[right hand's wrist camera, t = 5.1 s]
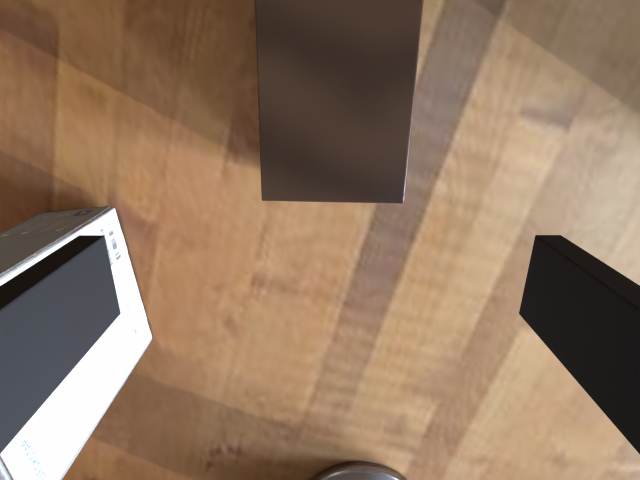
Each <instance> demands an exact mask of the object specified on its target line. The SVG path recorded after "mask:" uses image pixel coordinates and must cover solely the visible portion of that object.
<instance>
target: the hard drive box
mask: <svg viewBox="0 0 640 480" xmlns="http://www.w3.org/2000/svg"><path fill="white" fill-rule="evenodd" d="M79 235H104V236H105V240H106V245H107V250H108V255H109V259H110V264H111V269H112V274H113V278H114V283H115V288H116V293H117V297H118V302H119V307H120V312H121V314H120V315H119V316H118V317H117V319H116V320H115V321H114V322H113V323H112V324H111V326H110V327H109V328H108V329H107V330H106V331H105V333H104V334H103V335H102V336H101V337H100V338H99V340H98V341H97V342H96V343H95V344H94V345H93V347H92V348H91V349H90V350H89V351H88V352H87V354H86V355H85V356H84V357H83V358H82V359H81V361H80V362H79V363H78V364H77V365H76V366H75V368H74V369H73V370H72V371H71V372H70V373H69V375H68V376H67V377H66V378H65V379H64V380H63V382H62V383H61V384H60V385H59V386H58V387H57V389H56V390H55V391H54V392H53V393H52V394H51V396H50V397H49V398H48V399H47V400H46V401H45V403H44V404H43V405H42V406H41V407H40V408H39V410H38V411H37V412H36V413H35V414H34V415H33V417H32V418H31V419H30V420H29V421H28V422H27V424H26V425H25V426H24V427H23V428H22V429H21V430H20V432H19V433H18V434H17V435H16V436H15V437H14V439H13V440H12V441H11V442H10V443H9V444H8V446H7V447H6V448H5V449H4V450H3V451H2V453H1V454H0V480H62V478H63V477H64V475H65V474H66V472H67V471H68V469H69V468H70V466H71V465H72V463H73V461H74V460H75V458H76V457H77V455H78V454H79V452H80V451H81V449H82V447H83V446H84V444H85V443H86V441H87V440H88V438H89V437H90V435H91V434H92V432H93V430H94V429H95V427H96V426H97V424H98V423H99V421H100V419H101V418H102V416H103V415H104V413H105V412H106V410H107V409H108V407H109V406H110V404H111V402H112V401H113V399H114V398H115V396H116V395H117V393H118V392H119V390H120V388H121V387H122V386H123V384H124V382H125V381H126V379H127V378H128V376H129V375H130V373H131V372H132V370H133V368H134V367H135V365H136V364H137V362H138V361H139V359H140V357H141V356H142V354H143V353H144V351H145V350H146V348H147V347H148V345H149V343H150V342H151V340H152V336H151V332H150V329H149V325H148V322H147V318H146V314H145V311H144V307H143V304H142V301H141V298H140V294H139V291H138V287H137V283H136V280H135V277H134V273H133V270H132V266H131V262H130V259H129V256H128V251H127V247H126V244H125V240H124V236H123V234H122V231H121V228H120V224H119V221H118V217H117V214H116V210H115V208H111V207H110V206H106V207H96V208H85V209H75V210H66V211H56V212H47V213H41V214H38V215H36V216H35V217H33V218H31V219H29V220H27V221H25V222H23V223H21V224H19V225H17V226H15V227H13V228H11V229H8V230H6V231H5V232H3V233H1V234H0V286H1V285H2V284H4V283H5V282H7V281H9V280H10V279H12V278H13V277H15V276H16V275H18V274H20V273H21V272H23V271H24V270H26V269H27V268H29V267H31V266H32V265H34V264H35V263H37V262H38V261H40V260H41V259H43V258H45V257H46V256H48V255H49V254H51V253H52V252H54V251H56V250H57V249H59V248H60V247H62V246H63V245H65V244H66V243H68V242H70V241H71V240H73V239H74V238H76V237H77V236H79Z"/></svg>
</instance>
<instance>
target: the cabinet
mask: <svg viewBox="0 0 640 480" xmlns="http://www.w3.org/2000/svg"><path fill="white" fill-rule="evenodd" d="M422 10H423V0H255V12H256V42H257V71H258V101H259V131H260V160H261V190H262V200H263V201H304V202H357V203H403V202H404V193H405V183H406V173H407V163H408V152H409V142H410V132H411V122H412V112H413V102H414V92H415V81H416V71H417V61H418V51H419V41H420V31H421V20H422Z"/></svg>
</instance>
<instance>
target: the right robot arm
mask: <svg viewBox="0 0 640 480" xmlns="http://www.w3.org/2000/svg"><path fill="white" fill-rule="evenodd" d="M120 314H121V312H120V307H119V302H118V297H117V293H116V288H115V283H114V278H113V274H112V269H111V264H110V259H109V255H108V250H107V245H106V240H105V236H104V235H79V236H77V237H76V238H74V239H73V240H71V241H70V242H68V243H66V244H65V245H63V246H62V247H60V248H59V249H57V250H56V251H54V252H52V253H51V254H49V255H48V256H46V257H45V258H43V259H41V260H40V261H38V262H37V263H35V264H34V265H32V266H31V267H29V268H27V269H26V270H24V271H23V272H21V273H20V274H18V275H16V276H15V277H13V278H12V279H10V280H9V281H7V282H5V283H4V284H2V285H1V286H0V454H1V453H2V451H3V450H4V449H5V448H6V447H7V446H8V444H9V443H10V442H11V441H12V440H13V439H14V437H15V436H16V435H17V434H18V433H19V432H20V430H21V429H22V428H23V427H24V426H25V425H26V424H27V422H28V421H29V420H30V419H31V418H32V417H33V415H34V414H35V413H36V412H37V411H38V410H39V408H40V407H41V406H42V405H43V404H44V403H45V401H46V400H47V399H48V398H49V397H50V396H51V394H52V393H53V392H54V391H55V390H56V389H57V387H58V386H59V385H60V384H61V383H62V382H63V380H64V379H65V378H66V377H67V376H68V375H69V373H70V372H71V371H72V370H73V369H74V368H75V366H76V365H77V364H78V363H79V362H80V361H81V359H82V358H83V357H84V356H85V355H86V354H87V352H88V351H89V350H90V349H91V348H92V347H93V345H94V344H95V343H96V342H97V341H98V340H99V338H100V337H101V336H102V335H103V334H104V333H105V331H106V330H107V329H108V328H109V327H110V326H111V324H112V323H113V322H114V321H115V320H116V319H117V317H118V316H119V315H120ZM519 314H520V315H521V316H522V317H523V319H524V320H525V321H526V322H527V323H528V324H529V326H530V327H531V328H532V329H533V330H534V331H535V333H536V334H537V335H538V336H539V337H540V338H541V340H542V341H543V342H544V343H545V344H546V345H547V347H548V348H549V349H550V350H551V351H552V352H553V354H554V355H555V356H556V357H557V358H558V359H559V361H560V362H561V363H562V364H563V365H564V366H565V368H566V369H567V370H568V371H569V372H570V373H571V375H572V376H573V377H574V378H575V379H576V380H577V382H578V383H579V384H580V385H581V386H582V387H583V389H584V390H585V391H586V392H587V393H588V394H589V396H590V397H591V398H592V399H593V400H594V401H595V403H596V404H597V405H598V406H599V407H600V408H601V410H602V411H603V412H604V413H605V414H606V415H607V417H608V418H609V419H610V420H611V421H612V422H613V424H614V425H615V426H616V427H617V428H618V429H619V431H620V432H621V433H622V434H623V435H624V436H625V437H626V439H627V440H628V441H629V442H630V443H631V444H632V446H633V447H634V448H635V449H636V450H637V451H638V453H639V454H640V286H639V285H638V284H636V283H635V282H633V281H631V280H630V279H628V278H627V277H625V276H624V275H622V274H620V273H619V272H617V271H616V270H614V269H613V268H611V267H609V266H608V265H606V264H605V263H603V262H602V261H600V260H599V259H597V258H595V257H594V256H592V255H591V254H589V253H588V252H586V251H584V250H583V249H581V248H580V247H578V246H577V245H575V244H574V243H572V242H570V241H569V240H567V239H566V238H564V237H563V236H561V235H536V236H535V240H534V245H533V250H532V255H531V259H530V264H529V269H528V274H527V278H526V283H525V288H524V293H523V297H522V302H521V307H520V312H519ZM312 480H406V479H405V478H404V477H403V476H402V475H401V474H399V473H398V472H396V471H394V470H393V469H390V468H388V467H386V466H383V465H379V464H374V463H366V462H353V463H346V464H341V465H337V466H334V467H331V468H329V469H326V470H324V471H323V472H321V473H319V474H318V475H316V476H315V477H314V478H313V479H312Z"/></svg>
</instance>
